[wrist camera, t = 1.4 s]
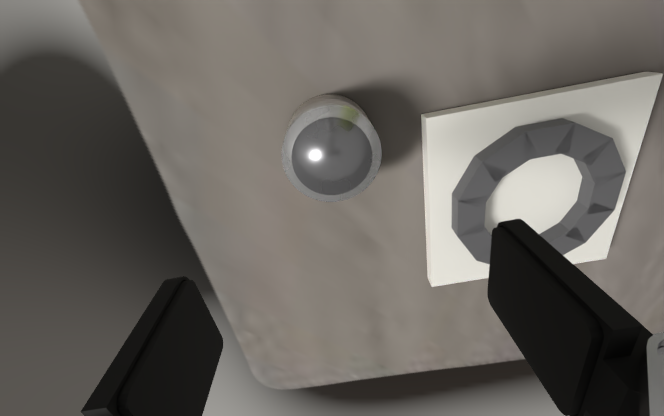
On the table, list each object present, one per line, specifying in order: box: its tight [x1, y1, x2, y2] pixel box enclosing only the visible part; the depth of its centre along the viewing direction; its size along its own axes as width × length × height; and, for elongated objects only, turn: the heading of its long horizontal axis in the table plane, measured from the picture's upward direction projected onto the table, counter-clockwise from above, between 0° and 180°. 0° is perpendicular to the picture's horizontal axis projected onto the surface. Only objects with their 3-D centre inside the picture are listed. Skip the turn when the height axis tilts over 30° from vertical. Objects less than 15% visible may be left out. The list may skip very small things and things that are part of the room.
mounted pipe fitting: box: [421, 72, 663, 287], centre depth 24 cm, size 15×15×2 cm
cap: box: [282, 94, 382, 202], centre depth 21 cm, size 6×6×4 cm
